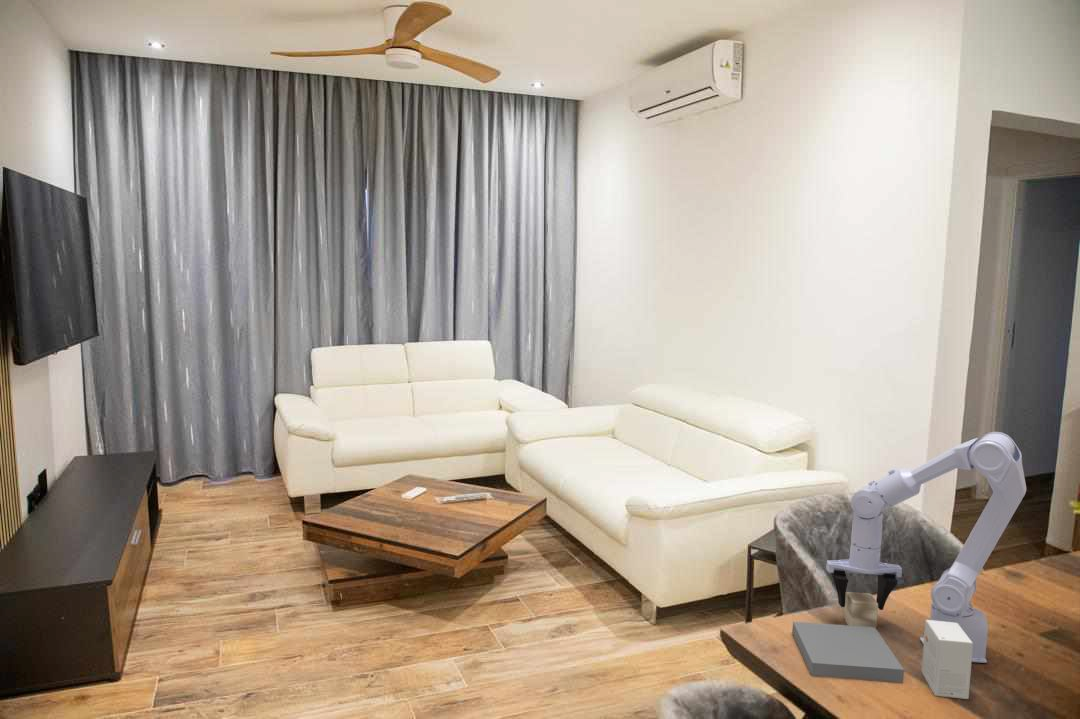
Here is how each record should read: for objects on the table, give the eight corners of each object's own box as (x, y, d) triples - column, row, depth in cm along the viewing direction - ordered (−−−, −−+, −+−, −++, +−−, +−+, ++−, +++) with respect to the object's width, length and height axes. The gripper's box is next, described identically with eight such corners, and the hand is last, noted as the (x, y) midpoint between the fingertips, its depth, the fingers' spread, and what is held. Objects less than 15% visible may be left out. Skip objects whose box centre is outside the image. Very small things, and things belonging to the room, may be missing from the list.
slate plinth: (873, 639, 151) (874, 627, 150) (903, 682, 135) (904, 669, 135) (792, 633, 152) (793, 621, 152) (811, 675, 137) (812, 662, 136)
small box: (968, 700, 130) (974, 643, 128) (933, 696, 131) (939, 639, 130) (953, 676, 138) (958, 621, 136) (920, 672, 139) (925, 618, 137)
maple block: (868, 620, 159) (870, 593, 158) (875, 631, 154) (878, 603, 153) (843, 618, 160) (845, 591, 159) (850, 629, 155) (852, 602, 154)
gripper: (895, 539, 158) (890, 600, 159) (824, 534, 159) (819, 595, 161) (907, 551, 151) (902, 615, 153) (833, 547, 152) (828, 610, 154)
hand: (860, 606), depth 156 cm, fingers open, 7 cm apart
